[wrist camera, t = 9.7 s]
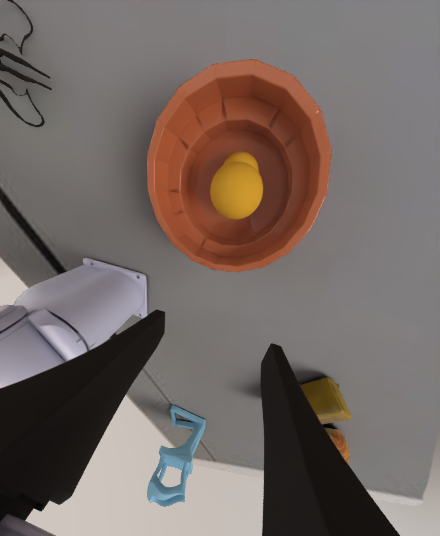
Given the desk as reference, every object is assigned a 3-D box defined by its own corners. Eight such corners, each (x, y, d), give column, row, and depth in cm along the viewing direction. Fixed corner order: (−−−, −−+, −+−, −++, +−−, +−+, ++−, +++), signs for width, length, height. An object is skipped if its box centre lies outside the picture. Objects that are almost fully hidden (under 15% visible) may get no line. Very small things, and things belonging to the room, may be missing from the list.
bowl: (172, 239, 18) (148, 252, 14) (179, 92, 13) (144, 43, 9) (276, 266, 17) (283, 288, 13) (336, 117, 12) (382, 75, 7)
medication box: (272, 401, 28) (275, 433, 25) (261, 395, 27) (264, 426, 24) (338, 383, 22) (355, 421, 19) (327, 375, 22) (342, 412, 18)
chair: (205, 430, 38) (186, 521, 27) (173, 420, 39) (143, 503, 29) (206, 414, 35) (185, 512, 24) (171, 404, 36) (137, 492, 25)
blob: (208, 210, 15) (203, 217, 11) (218, 150, 13) (215, 134, 9) (250, 219, 15) (258, 228, 12) (266, 161, 13) (282, 150, 10)
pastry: (306, 415, 28) (312, 442, 25) (351, 426, 26) (363, 456, 23) (302, 444, 31) (307, 471, 28) (342, 455, 29) (351, 485, 26)
